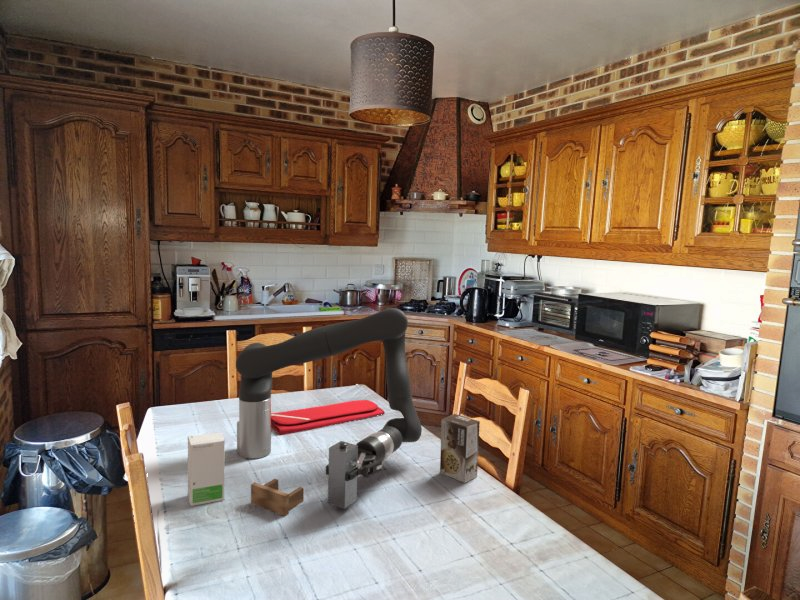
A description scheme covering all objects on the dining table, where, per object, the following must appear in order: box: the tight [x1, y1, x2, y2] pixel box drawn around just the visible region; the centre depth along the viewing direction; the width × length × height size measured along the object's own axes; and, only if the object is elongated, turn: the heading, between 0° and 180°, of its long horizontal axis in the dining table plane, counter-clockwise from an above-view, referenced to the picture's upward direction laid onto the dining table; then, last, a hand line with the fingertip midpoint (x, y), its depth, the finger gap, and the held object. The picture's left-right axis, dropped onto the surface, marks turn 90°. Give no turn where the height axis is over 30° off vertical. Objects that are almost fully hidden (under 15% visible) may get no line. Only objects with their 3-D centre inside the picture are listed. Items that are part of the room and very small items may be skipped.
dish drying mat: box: [271, 399, 385, 436], centre depth 188 cm, size 16×41×4 cm, turn 124°
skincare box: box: [187, 432, 226, 507], centre depth 129 cm, size 8×7×16 cm
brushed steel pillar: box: [327, 440, 358, 509], centre depth 125 cm, size 5×5×15 cm
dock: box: [250, 478, 305, 517], centre depth 128 cm, size 11×8×5 cm
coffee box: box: [439, 413, 481, 483], centre depth 145 cm, size 9×6×16 cm
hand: (336, 474), depth 123 cm, fingers closed on brushed steel pillar, 5 cm apart
